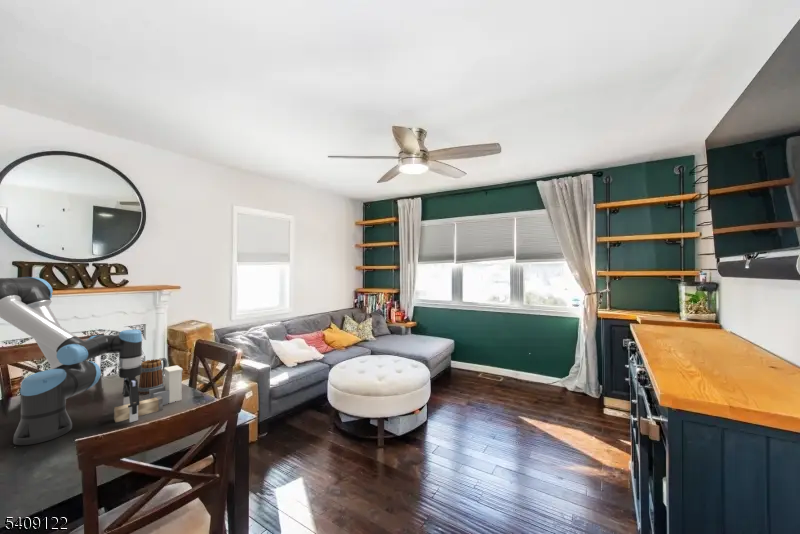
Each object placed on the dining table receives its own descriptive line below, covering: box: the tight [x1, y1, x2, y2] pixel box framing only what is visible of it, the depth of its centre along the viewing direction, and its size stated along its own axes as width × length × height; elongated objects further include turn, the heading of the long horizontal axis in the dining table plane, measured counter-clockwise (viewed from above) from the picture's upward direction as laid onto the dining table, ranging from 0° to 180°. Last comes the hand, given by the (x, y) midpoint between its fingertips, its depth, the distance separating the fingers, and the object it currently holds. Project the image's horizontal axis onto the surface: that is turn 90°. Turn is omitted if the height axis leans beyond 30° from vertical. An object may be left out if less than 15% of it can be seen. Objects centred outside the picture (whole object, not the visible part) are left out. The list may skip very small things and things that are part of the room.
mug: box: [138, 357, 168, 395], centre depth 172 cm, size 16×11×15 cm
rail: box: [113, 396, 164, 423], centre depth 143 cm, size 16×4×5 cm, turn 138°
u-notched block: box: [148, 365, 184, 406], centre depth 157 cm, size 11×9×15 cm
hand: (130, 416), depth 140 cm, fingers open, 12 cm apart
